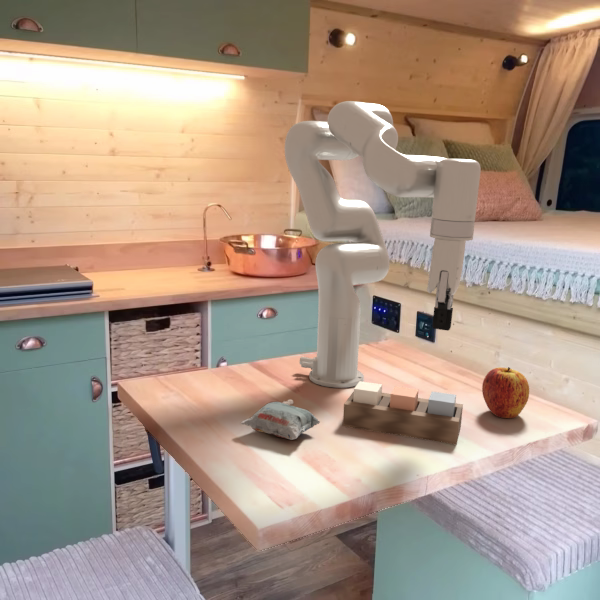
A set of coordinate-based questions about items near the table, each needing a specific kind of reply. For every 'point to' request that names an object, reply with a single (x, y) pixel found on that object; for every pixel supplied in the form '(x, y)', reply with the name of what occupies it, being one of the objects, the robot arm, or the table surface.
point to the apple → (505, 392)
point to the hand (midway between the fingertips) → (441, 328)
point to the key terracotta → (404, 398)
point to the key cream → (368, 393)
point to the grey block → (442, 404)
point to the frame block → (403, 420)
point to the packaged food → (282, 420)
